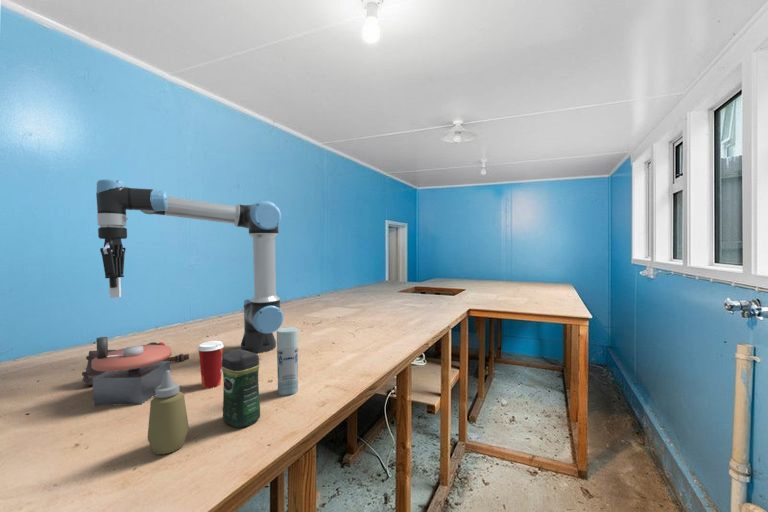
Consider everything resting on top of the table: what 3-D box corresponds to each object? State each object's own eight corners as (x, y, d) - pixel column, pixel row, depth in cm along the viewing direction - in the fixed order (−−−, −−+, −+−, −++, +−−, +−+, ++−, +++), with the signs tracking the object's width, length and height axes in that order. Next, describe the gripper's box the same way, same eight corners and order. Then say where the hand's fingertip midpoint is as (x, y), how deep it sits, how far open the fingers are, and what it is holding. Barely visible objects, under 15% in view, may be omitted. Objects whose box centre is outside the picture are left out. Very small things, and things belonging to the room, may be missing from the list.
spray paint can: (276, 389, 109) (275, 328, 108) (296, 385, 111) (296, 326, 111) (278, 397, 103) (277, 333, 102) (300, 393, 105) (299, 330, 105)
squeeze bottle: (160, 438, 81) (158, 365, 81) (195, 436, 82) (193, 364, 81) (139, 459, 73) (136, 378, 73) (178, 457, 74) (175, 377, 73)
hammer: (79, 380, 113) (86, 350, 114) (181, 370, 139) (186, 345, 141) (85, 385, 109) (92, 354, 110) (189, 373, 135) (194, 348, 137)
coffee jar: (265, 419, 90) (264, 350, 90) (237, 432, 84) (236, 359, 83) (245, 408, 96) (244, 344, 95) (218, 420, 90) (216, 351, 89)
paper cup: (229, 382, 115) (228, 341, 114) (211, 391, 107) (210, 348, 107) (211, 379, 117) (210, 339, 117) (192, 388, 110) (191, 345, 110)
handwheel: (178, 354, 118) (177, 325, 118) (161, 375, 99) (160, 341, 99) (109, 361, 112) (108, 330, 111) (77, 384, 93) (76, 348, 92)
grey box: (170, 384, 113) (170, 360, 113) (142, 404, 99) (141, 377, 99) (128, 385, 113) (127, 361, 112) (93, 404, 99) (92, 378, 98)
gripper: (117, 226, 107) (120, 299, 108) (133, 227, 120) (136, 293, 120) (88, 225, 105) (92, 300, 106) (108, 227, 117) (111, 295, 118)
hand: (115, 297), depth 113 cm, fingers closed
